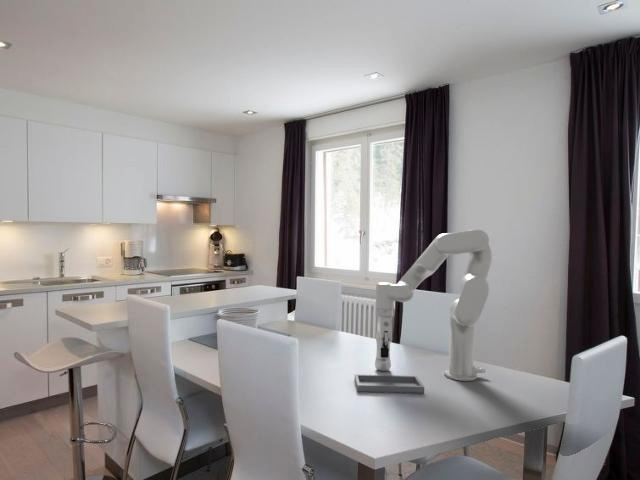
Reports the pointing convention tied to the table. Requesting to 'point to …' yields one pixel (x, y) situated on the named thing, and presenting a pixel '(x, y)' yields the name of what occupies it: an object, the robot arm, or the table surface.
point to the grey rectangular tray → (388, 384)
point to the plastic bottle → (380, 363)
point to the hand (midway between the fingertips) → (383, 354)
